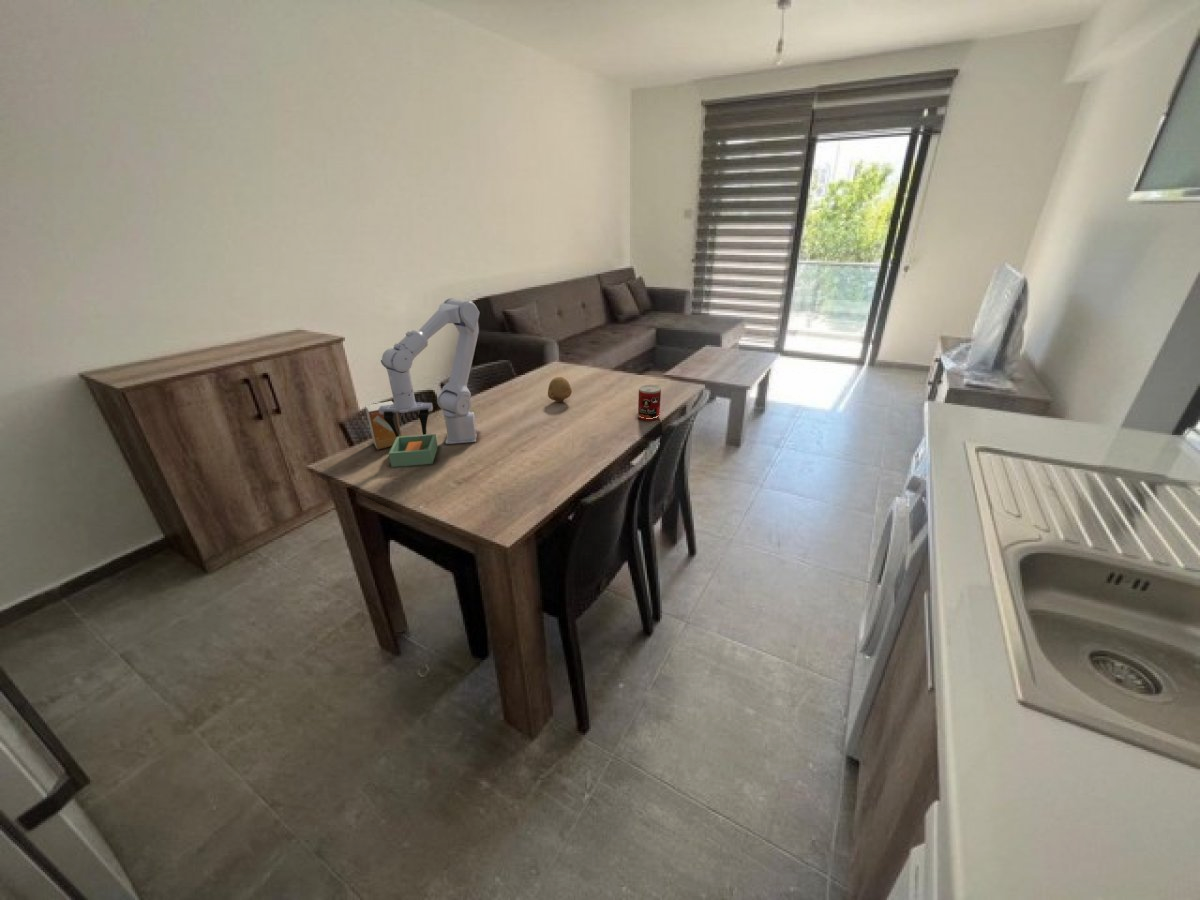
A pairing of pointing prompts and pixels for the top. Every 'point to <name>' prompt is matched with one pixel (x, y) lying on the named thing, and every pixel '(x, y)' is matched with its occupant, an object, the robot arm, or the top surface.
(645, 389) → the canned food
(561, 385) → the natural sponge
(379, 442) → the small box
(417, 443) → the packet
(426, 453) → the green open-top bin
